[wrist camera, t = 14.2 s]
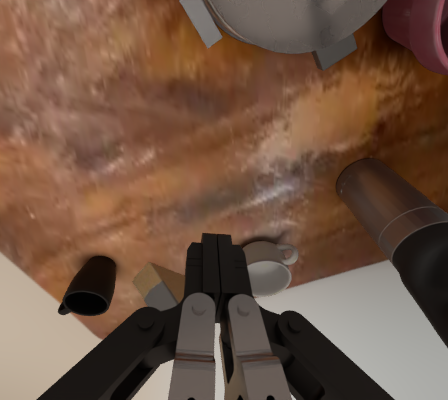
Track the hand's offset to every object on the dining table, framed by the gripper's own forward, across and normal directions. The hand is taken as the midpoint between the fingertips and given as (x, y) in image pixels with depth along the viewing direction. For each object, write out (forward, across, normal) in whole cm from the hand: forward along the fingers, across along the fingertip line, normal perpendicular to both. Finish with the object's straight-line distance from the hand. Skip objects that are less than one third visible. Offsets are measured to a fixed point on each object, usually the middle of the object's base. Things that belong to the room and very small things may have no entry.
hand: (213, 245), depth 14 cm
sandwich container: (+29, +4, +42) cm, 52 cm away
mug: (+29, +20, +38) cm, 52 cm away
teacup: (+29, -16, +29) cm, 44 cm away
